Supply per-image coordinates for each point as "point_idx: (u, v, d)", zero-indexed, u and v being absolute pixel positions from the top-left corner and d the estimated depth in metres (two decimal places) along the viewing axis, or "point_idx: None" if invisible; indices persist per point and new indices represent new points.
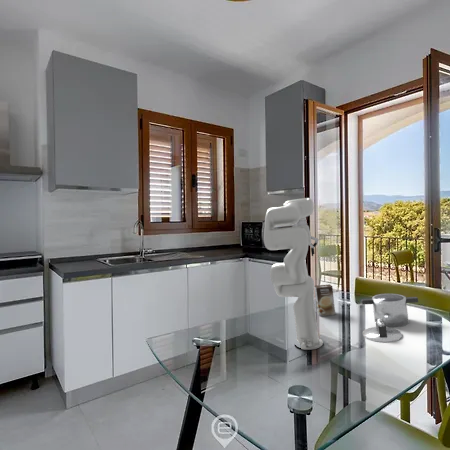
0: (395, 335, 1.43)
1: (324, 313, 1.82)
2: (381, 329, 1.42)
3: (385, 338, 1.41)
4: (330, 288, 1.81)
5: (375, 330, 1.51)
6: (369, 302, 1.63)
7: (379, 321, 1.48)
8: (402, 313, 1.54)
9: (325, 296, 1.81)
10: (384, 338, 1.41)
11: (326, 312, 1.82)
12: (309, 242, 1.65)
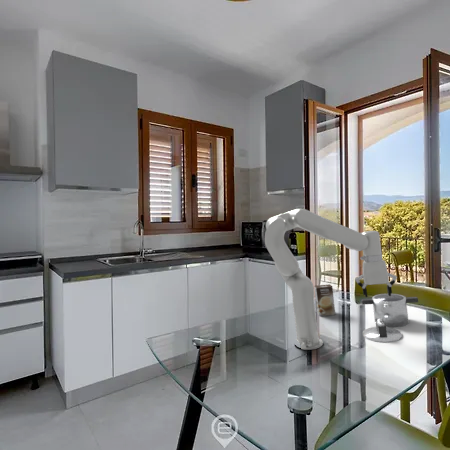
0: (395, 335, 1.43)
1: (324, 313, 1.82)
2: (381, 329, 1.42)
3: (385, 338, 1.41)
4: (330, 288, 1.81)
5: (375, 330, 1.51)
6: (369, 302, 1.63)
7: (379, 321, 1.48)
8: (402, 313, 1.54)
9: (325, 296, 1.81)
10: (384, 338, 1.41)
11: (326, 312, 1.82)
12: (386, 280, 1.43)
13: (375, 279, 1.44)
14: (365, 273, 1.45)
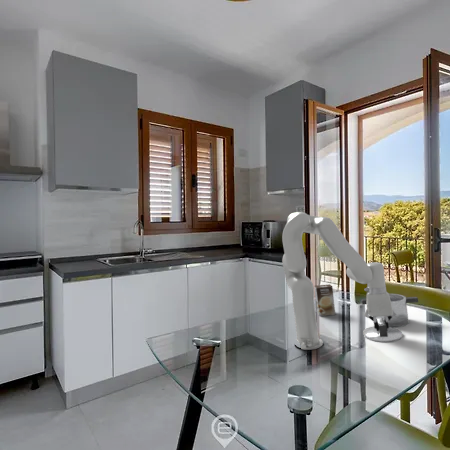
0: (395, 334, 1.43)
1: (324, 313, 1.82)
2: (382, 328, 1.42)
3: (385, 337, 1.41)
4: (330, 288, 1.81)
5: (375, 329, 1.51)
6: None
7: (380, 320, 1.48)
8: (402, 313, 1.54)
9: (325, 296, 1.81)
10: (384, 337, 1.41)
11: (326, 312, 1.82)
12: (390, 313, 1.43)
13: (379, 311, 1.44)
14: (369, 305, 1.45)
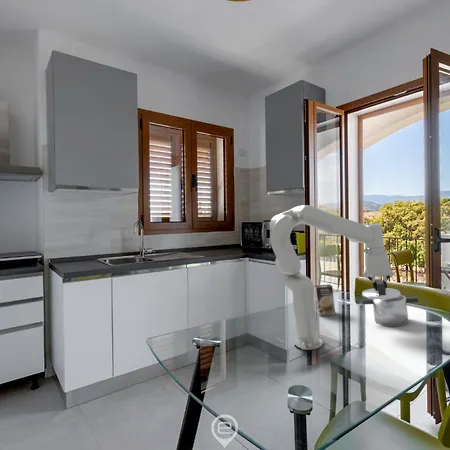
0: (394, 293, 1.46)
1: (324, 313, 1.82)
2: (380, 287, 1.46)
3: (384, 295, 1.44)
4: (330, 288, 1.81)
5: (374, 290, 1.54)
6: (369, 302, 1.63)
7: (378, 281, 1.51)
8: (402, 313, 1.54)
9: (325, 296, 1.81)
10: (382, 295, 1.45)
11: (326, 312, 1.82)
12: (389, 272, 1.46)
13: (377, 271, 1.48)
14: (368, 265, 1.49)
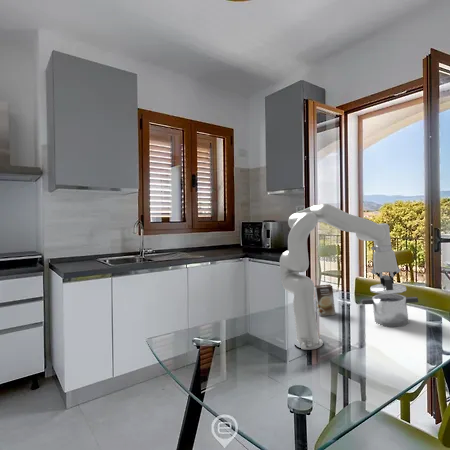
0: (400, 288, 1.57)
1: (324, 313, 1.82)
2: (387, 282, 1.56)
3: (391, 290, 1.55)
4: (330, 288, 1.81)
5: (381, 286, 1.65)
6: (369, 302, 1.63)
7: (385, 276, 1.62)
8: (402, 313, 1.54)
9: (325, 296, 1.81)
10: (390, 290, 1.55)
11: (326, 312, 1.82)
12: (395, 268, 1.57)
13: (384, 267, 1.58)
14: (376, 262, 1.59)
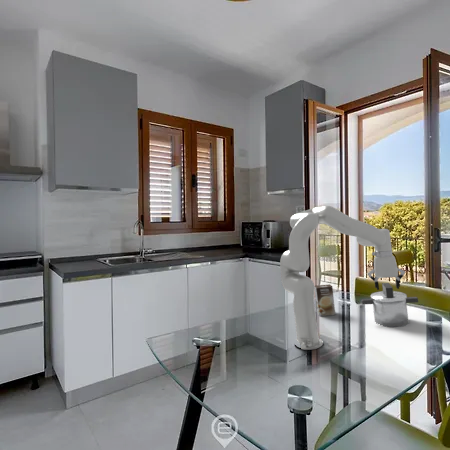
0: (401, 296, 1.57)
1: (324, 313, 1.82)
2: (388, 290, 1.56)
3: (392, 298, 1.55)
4: (330, 288, 1.81)
5: (382, 293, 1.65)
6: (369, 302, 1.63)
7: (386, 284, 1.62)
8: (402, 313, 1.54)
9: (325, 296, 1.81)
10: (390, 298, 1.55)
11: (326, 312, 1.82)
12: (396, 274, 1.57)
13: (385, 273, 1.58)
14: (376, 267, 1.59)
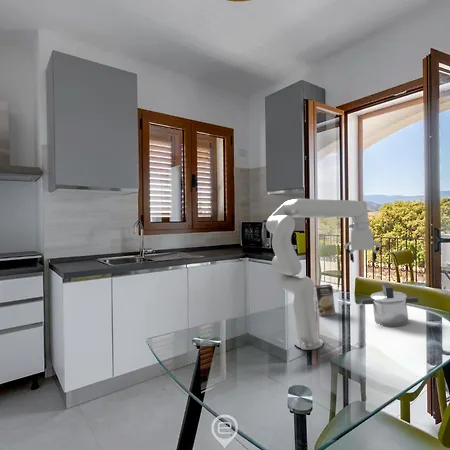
0: (401, 296, 1.57)
1: (324, 313, 1.82)
2: (388, 290, 1.56)
3: (392, 298, 1.55)
4: (330, 288, 1.81)
5: (382, 293, 1.65)
6: (369, 302, 1.63)
7: (386, 284, 1.62)
8: (402, 313, 1.54)
9: (325, 296, 1.81)
10: (390, 298, 1.55)
11: (326, 312, 1.82)
12: (372, 246, 1.55)
13: (361, 245, 1.56)
14: (352, 239, 1.57)
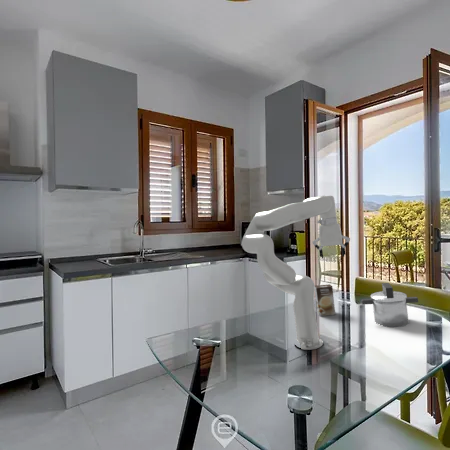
0: (401, 296, 1.57)
1: (324, 313, 1.82)
2: (388, 290, 1.56)
3: (392, 298, 1.55)
4: (330, 288, 1.81)
5: (382, 293, 1.65)
6: (369, 302, 1.63)
7: (386, 284, 1.62)
8: (402, 313, 1.54)
9: (325, 296, 1.81)
10: (390, 298, 1.55)
11: (326, 312, 1.82)
12: (340, 241, 1.52)
13: (329, 241, 1.53)
14: (321, 235, 1.54)
